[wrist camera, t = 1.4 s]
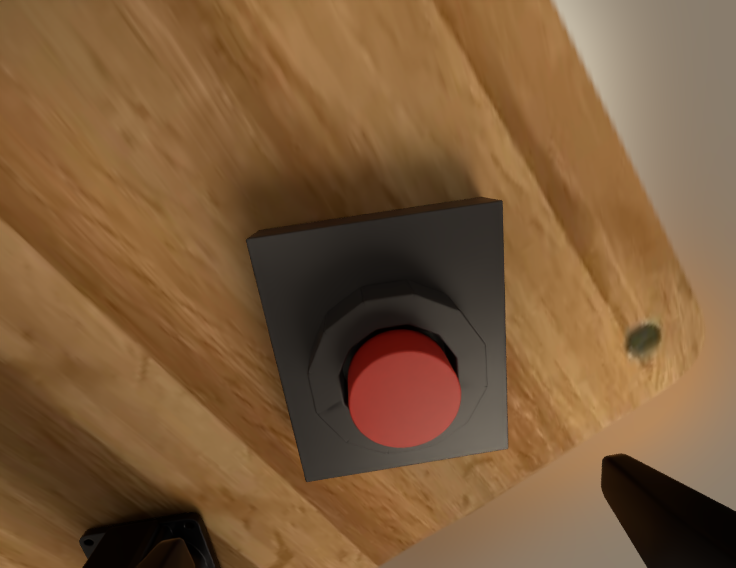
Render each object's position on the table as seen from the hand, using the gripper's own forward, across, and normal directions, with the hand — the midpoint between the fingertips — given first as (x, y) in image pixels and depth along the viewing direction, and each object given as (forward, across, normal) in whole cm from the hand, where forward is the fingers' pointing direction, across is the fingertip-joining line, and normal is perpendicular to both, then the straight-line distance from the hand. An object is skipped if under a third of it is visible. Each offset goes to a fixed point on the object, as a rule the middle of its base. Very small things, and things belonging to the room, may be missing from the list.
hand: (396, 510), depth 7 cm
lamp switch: (+10, -1, +1) cm, 10 cm away
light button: (+7, -1, +1) cm, 7 cm away
